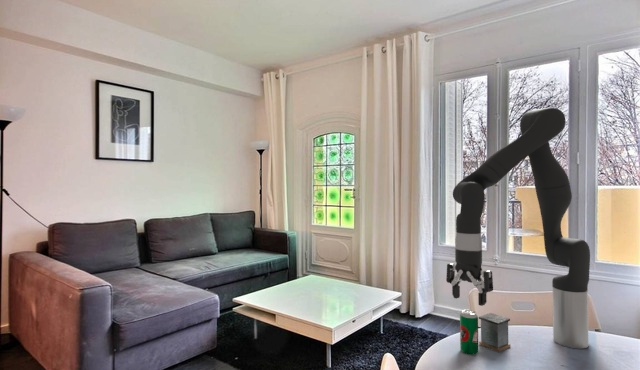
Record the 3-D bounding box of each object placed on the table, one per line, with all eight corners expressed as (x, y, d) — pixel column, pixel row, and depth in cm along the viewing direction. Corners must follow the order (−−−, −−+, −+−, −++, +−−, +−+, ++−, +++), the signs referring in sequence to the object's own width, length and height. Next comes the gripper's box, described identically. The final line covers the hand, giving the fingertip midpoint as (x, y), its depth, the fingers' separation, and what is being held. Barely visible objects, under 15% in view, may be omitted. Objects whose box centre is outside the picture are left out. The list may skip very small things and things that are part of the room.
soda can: (477, 357, 105) (476, 316, 106) (459, 353, 108) (458, 313, 108) (479, 350, 110) (478, 310, 110) (461, 346, 112) (461, 308, 112)
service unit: (490, 340, 117) (490, 312, 117) (510, 347, 112) (510, 318, 112) (479, 344, 114) (478, 316, 114) (498, 352, 108) (498, 323, 108)
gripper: (498, 249, 105) (498, 305, 105) (456, 243, 117) (456, 293, 117) (482, 252, 101) (483, 310, 101) (440, 245, 113) (441, 297, 113)
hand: (468, 301), depth 109 cm, fingers open, 8 cm apart
